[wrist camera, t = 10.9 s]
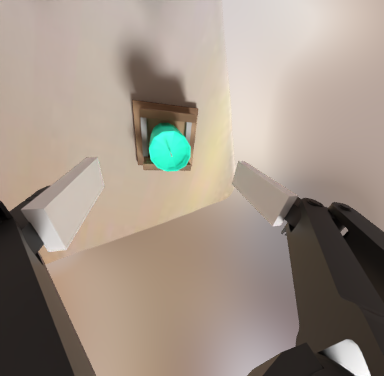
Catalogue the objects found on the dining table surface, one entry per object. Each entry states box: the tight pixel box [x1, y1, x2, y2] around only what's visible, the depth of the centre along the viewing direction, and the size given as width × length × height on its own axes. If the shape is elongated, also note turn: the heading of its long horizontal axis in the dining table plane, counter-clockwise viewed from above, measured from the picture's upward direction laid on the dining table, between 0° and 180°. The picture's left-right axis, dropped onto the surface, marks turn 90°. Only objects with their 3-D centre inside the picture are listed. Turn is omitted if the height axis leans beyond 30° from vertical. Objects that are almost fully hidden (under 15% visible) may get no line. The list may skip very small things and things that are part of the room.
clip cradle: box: [132, 100, 198, 171], centre depth 27 cm, size 12×12×6 cm
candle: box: [149, 123, 191, 171], centre depth 23 cm, size 6×6×12 cm
